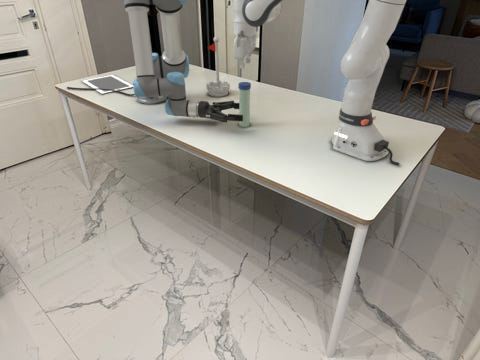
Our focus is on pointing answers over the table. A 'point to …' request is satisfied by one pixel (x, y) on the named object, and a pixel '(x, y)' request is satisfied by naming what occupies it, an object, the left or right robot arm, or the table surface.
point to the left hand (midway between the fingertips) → (245, 112)
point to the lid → (244, 85)
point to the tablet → (108, 84)
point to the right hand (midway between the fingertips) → (244, 65)
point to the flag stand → (217, 76)
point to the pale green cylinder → (244, 107)
